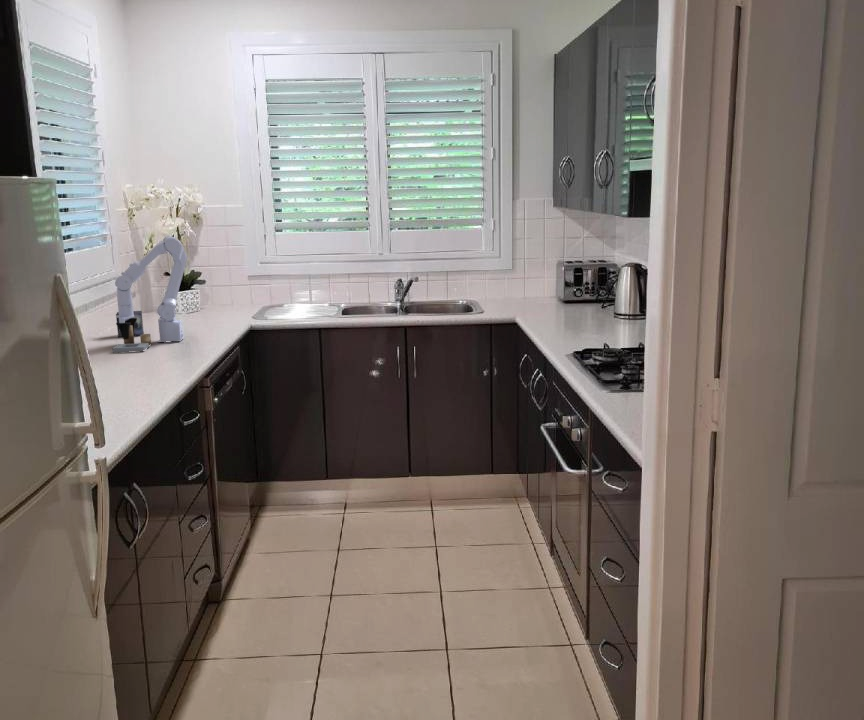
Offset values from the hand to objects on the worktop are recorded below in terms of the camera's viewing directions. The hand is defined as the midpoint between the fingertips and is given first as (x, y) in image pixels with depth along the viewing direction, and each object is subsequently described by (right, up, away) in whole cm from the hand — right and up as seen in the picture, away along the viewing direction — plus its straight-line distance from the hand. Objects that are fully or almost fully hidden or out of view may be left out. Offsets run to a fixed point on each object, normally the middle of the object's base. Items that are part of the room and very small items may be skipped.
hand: (128, 337), depth 340 cm
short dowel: (+8, -3, -1) cm, 9 cm away
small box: (-7, +1, +21) cm, 22 cm away
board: (+5, -6, -11) cm, 13 cm away
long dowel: (0, -3, +1) cm, 3 cm away
